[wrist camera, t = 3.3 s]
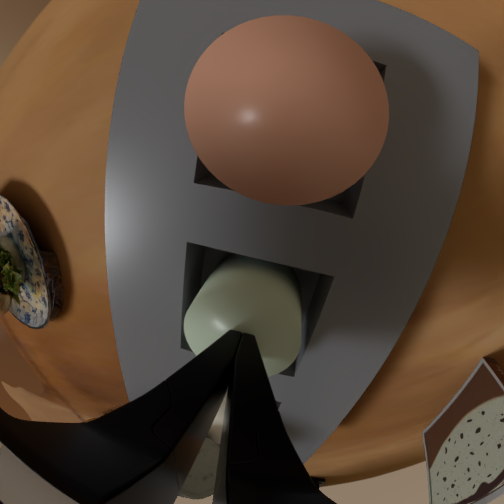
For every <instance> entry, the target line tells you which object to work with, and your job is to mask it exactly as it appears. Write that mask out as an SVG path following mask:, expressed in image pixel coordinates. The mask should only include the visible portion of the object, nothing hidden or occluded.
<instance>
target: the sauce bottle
mask: <svg viewBox="0 0 504 504" xmlns="http://www.w3.org/2000/svg"><path fill="white" fill-rule="evenodd" d="M94 419H97V418H92V419H89V420H87V421H91V420H94ZM87 421H86V422H87ZM218 456H219V447H218V445H217V444H216V443H215V442H214V441H213V440H211V439H210V438H208V437H206V438H205V440H204V443H203V445H202V447H201V449H200V451H199V453H198V455H197V457H196V459H195V461H194V463H193V466H192V468H191V470H190V472H189V474H188V476H187V478H186V480H185V482H184V484H183V486H182V488H181V490H180V491H179V494H178V496H181V497H186V498H190V499H203V498H206V497H209V496H211V495H213V494H214V487H215V479H216V471H217V464H218Z"/></svg>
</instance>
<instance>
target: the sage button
mask: <svg viewBox="0 0 504 504" xmlns="http://www.w3.org/2000/svg"><path fill="white" fill-rule="evenodd" d="M230 329H232V330H236V331H240V332H242V334H243V333H248V334H253V335H254V336H255V337H256V341H257V344H258V347H259V350H260V353H261V356H262V360H263V363H264V366H265V369H266V372H267V375H268V377H270V376H273V375H276V374H278V373H280V372H282V371H284V370H285V369H286V368H288V367H289V366H290V365H291V364H292V363H293V362H294V360H295V359H296V357H297V355H298V353H299V351H300V347H301V329H302V289H301V284H300V281H299V279H298V277H297V275H296V273H295V272H294V271H293V269H292V268H291V267H290V266H287V265H283V264H278V263H274V262H270V261H266V260H261V259H257V258H253V257H249V256H244V255H240V254H236V253H233V254H231V255H229V256H227V257H225V258H224V259H222V260H221V261H220V262H219V263H218V264H217V265H216V266H215V268H214V269H213V271H212V272H211V274H210V275H209V277H208V279H207V280H206V282H205V283H204V285H203V286H202V288H201V290H200V291H199V293H198V294H197V296H196V297H195V299H194V301H193V302H192V304H191V305H190V307H189V309H188V310H187V312H186V315H185V318H184V333H185V337H186V340H187V342H188V344H189V346H190V348H191V349H192V351H193V352H194V353H195V355H196V356H197V355H198V354H199V353H201V352H202V351H203V350H205V349H206V348H207V347H208V346H210V345H211V344H212V343H213V342H215V341H216V340H217V339H219V338H220V337H221V336H222V335H224V334H225V333H226V332H227V331H229V330H230Z"/></svg>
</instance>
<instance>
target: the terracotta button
mask: <svg viewBox="0 0 504 504" xmlns="http://www.w3.org/2000/svg"><path fill="white" fill-rule="evenodd" d="M184 116H185V123H186V128H187V132H188V135H189V139H190V141H191V143H192V145H193V148H194V150H195V152H196V153H197V155H198V157H199V158H200V160H201V161H202V163H203V164H204V165H205V166H206V168H207V169H208V170H209V171H210V172H211V173H212V174H213V175H214V176H215V177H216V178H217V179H218V180H219V181H221V182H222V183H223V184H225V185H226V186H227V187H229V188H230V189H232V190H234V191H236V192H237V193H239V194H241V195H244V196H246V197H248V198H251V199H253V200H257V201H260V202H264V203H269V204H275V205H289V206H294V205H306V204H310V203H315V202H319V201H322V200H325V199H328V198H331V197H333V196H335V195H337V194H339V193H341V192H343V191H345V190H346V189H348V188H349V187H351V186H352V185H354V184H355V183H356V182H357V181H358V180H359V179H360V178H361V177H363V176H364V175H365V173H366V172H367V171H368V170H369V169H370V167H371V166H372V165H373V163H374V162H375V160H376V159H377V157H378V155H379V153H380V151H381V149H382V147H383V144H384V141H385V138H386V134H387V130H388V123H389V103H388V97H387V92H386V89H385V85H384V82H383V80H382V77H381V75H380V73H379V71H378V69H377V67H376V66H375V64H374V63H373V61H372V60H371V58H370V57H369V56H368V54H367V53H366V52H365V51H364V50H363V49H362V47H360V46H359V45H358V44H357V43H356V42H355V41H354V40H353V39H351V38H350V37H349V36H347V35H346V34H344V33H343V32H341V31H340V30H338V29H336V28H334V27H332V26H330V25H328V24H326V23H323V22H320V21H318V20H314V19H310V18H306V17H301V16H292V15H275V16H267V17H261V18H257V19H254V20H250V21H247V22H245V23H242V24H240V25H238V26H236V27H234V28H232V29H230V30H229V31H227V32H225V33H224V34H223V35H221V36H220V37H219V38H217V39H216V40H215V41H214V42H213V43H212V44H211V45H210V46H209V47H208V48H207V49H206V50H205V52H204V53H203V54H202V55H201V57H200V58H199V60H198V61H197V63H196V65H195V66H194V68H193V70H192V73H191V75H190V78H189V80H188V84H187V88H186V92H185V100H184Z"/></svg>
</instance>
